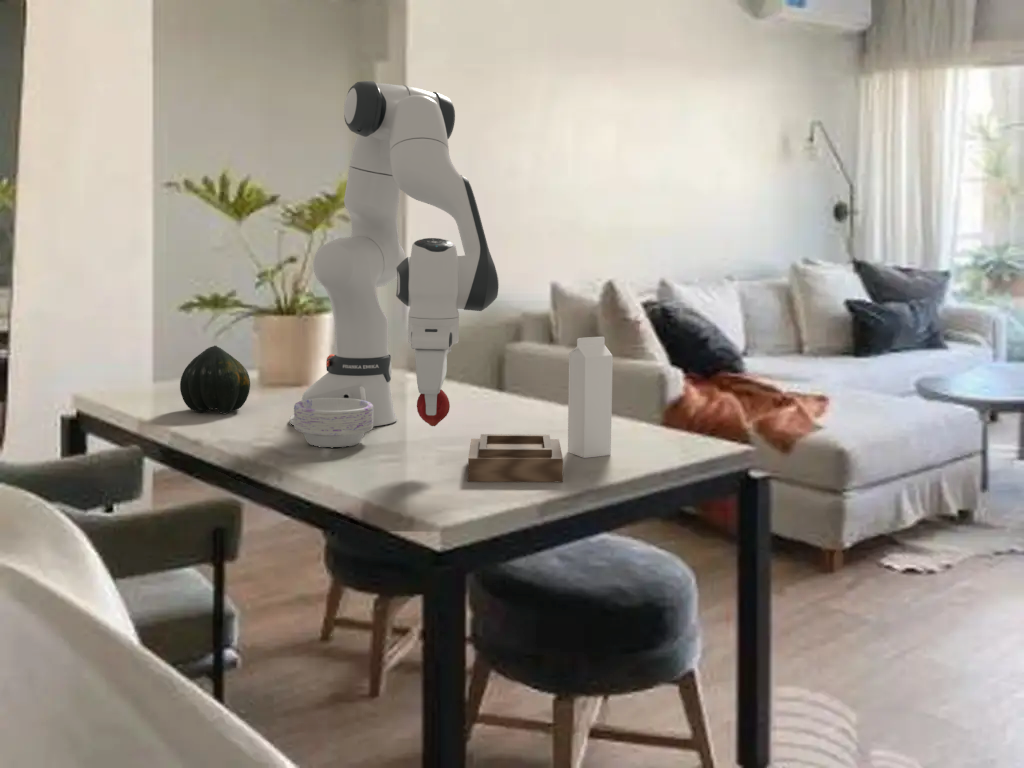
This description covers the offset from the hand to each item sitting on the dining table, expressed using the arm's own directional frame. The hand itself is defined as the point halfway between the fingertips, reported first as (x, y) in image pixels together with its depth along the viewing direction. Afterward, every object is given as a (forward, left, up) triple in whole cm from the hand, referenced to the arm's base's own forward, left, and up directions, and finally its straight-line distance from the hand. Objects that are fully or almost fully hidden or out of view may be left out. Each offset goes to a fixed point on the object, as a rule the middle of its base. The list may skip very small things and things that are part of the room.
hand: (432, 410), depth 210 cm
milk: (+29, +12, -11) cm, 33 cm away
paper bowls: (-20, +20, -11) cm, 30 cm away
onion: (0, 0, -3) cm, 3 cm away
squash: (-51, +53, -11) cm, 75 cm away
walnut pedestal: (+15, -2, -10) cm, 18 cm away
